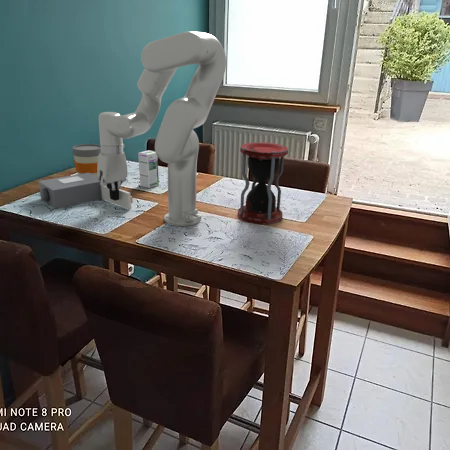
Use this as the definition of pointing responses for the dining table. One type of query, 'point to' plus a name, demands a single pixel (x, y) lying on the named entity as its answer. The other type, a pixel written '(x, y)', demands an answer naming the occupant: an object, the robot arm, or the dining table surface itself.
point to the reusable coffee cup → (86, 158)
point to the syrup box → (148, 169)
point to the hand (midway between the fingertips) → (114, 199)
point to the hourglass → (262, 182)
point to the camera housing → (70, 190)
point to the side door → (124, 197)
